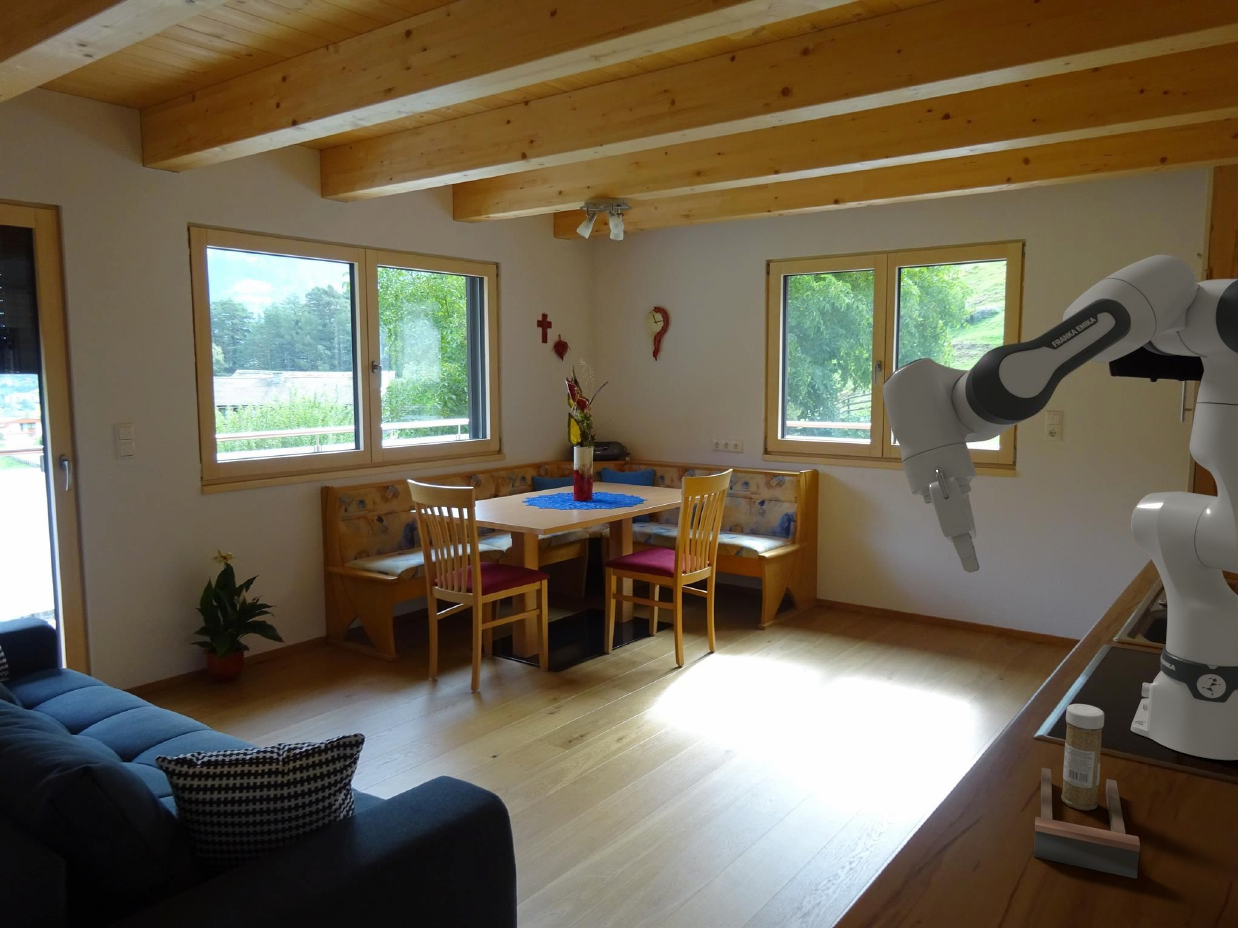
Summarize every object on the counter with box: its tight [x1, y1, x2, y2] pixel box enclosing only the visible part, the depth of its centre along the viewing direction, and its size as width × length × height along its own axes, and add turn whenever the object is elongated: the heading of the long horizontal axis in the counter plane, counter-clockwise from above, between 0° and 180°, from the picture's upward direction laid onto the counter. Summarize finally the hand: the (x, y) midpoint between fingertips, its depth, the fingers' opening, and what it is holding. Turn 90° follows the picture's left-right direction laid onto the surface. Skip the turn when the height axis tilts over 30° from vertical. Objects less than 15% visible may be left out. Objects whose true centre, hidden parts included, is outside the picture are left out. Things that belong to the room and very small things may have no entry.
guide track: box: [1033, 767, 1141, 880], centre depth 119 cm, size 22×11×4 cm, turn 155°
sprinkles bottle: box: [1060, 703, 1105, 811], centre depth 124 cm, size 5×5×14 cm
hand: (972, 571), depth 123 cm, fingers open, 8 cm apart
